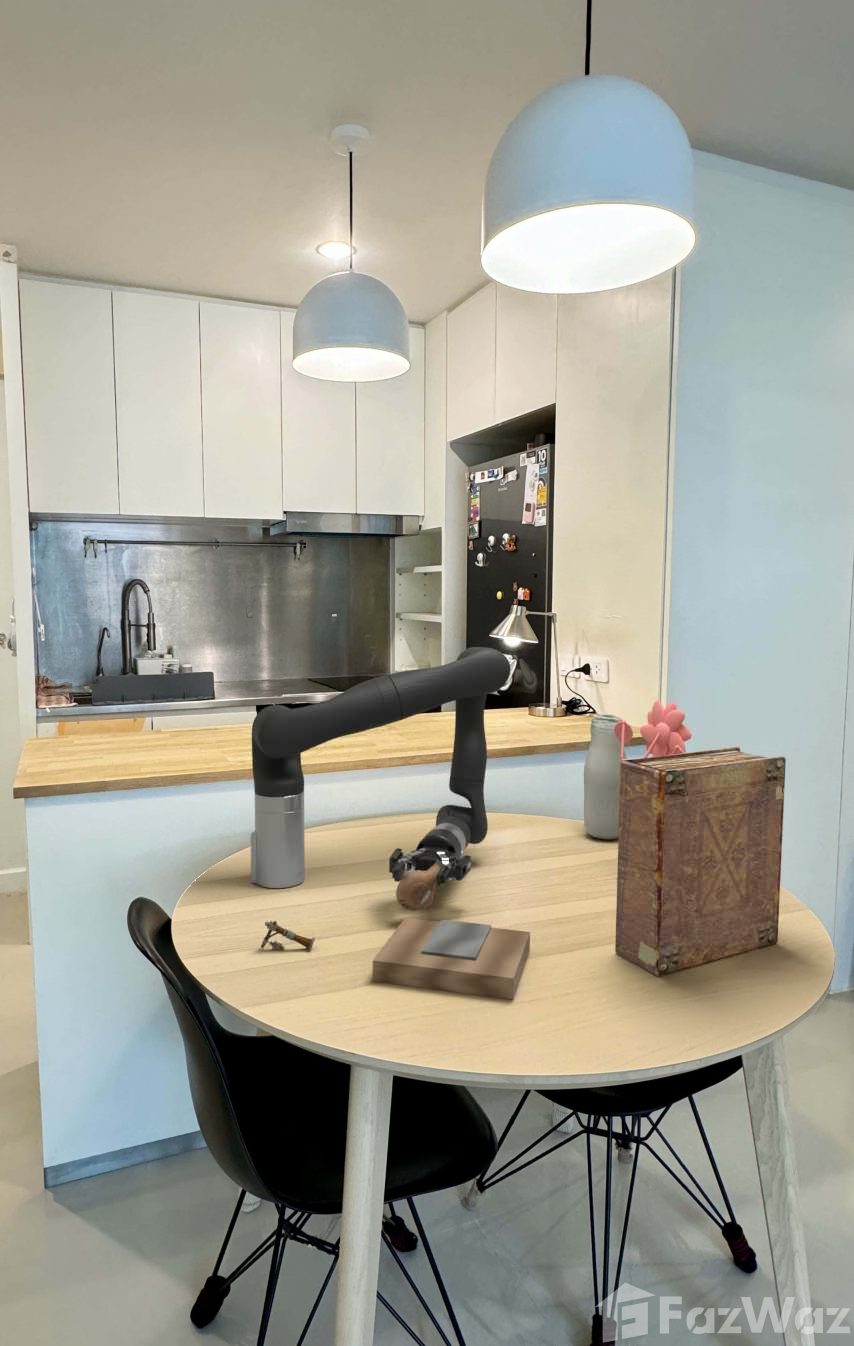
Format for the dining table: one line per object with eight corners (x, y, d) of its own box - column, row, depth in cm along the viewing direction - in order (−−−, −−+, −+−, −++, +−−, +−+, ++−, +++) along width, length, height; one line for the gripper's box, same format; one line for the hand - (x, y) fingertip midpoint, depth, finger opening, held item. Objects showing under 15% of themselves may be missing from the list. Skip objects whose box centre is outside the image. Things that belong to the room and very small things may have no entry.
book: (731, 923, 138) (739, 746, 135) (778, 944, 130) (787, 756, 127) (614, 953, 126) (620, 760, 123) (657, 978, 118) (665, 772, 115)
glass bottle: (623, 832, 191) (627, 712, 188) (629, 845, 181) (633, 718, 178) (580, 830, 192) (583, 711, 189) (584, 843, 182) (587, 717, 179)
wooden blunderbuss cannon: (256, 941, 128) (268, 915, 127) (304, 961, 128) (315, 936, 128) (254, 946, 126) (266, 920, 125) (302, 967, 126) (314, 941, 126)
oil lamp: (439, 900, 142) (441, 855, 141) (450, 909, 139) (452, 863, 138) (392, 908, 138) (393, 862, 137) (402, 917, 135) (403, 870, 134)
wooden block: (372, 980, 117) (372, 957, 116) (404, 935, 132) (404, 915, 132) (513, 999, 112) (513, 975, 111) (529, 950, 127) (530, 929, 127)
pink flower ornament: (677, 912, 142) (687, 711, 140) (587, 867, 166) (595, 694, 163) (743, 901, 149) (755, 708, 146) (648, 859, 172) (657, 693, 169)
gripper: (404, 824, 153) (376, 851, 137) (481, 831, 149) (460, 860, 133) (404, 864, 154) (375, 895, 138) (479, 872, 150) (459, 905, 134)
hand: (417, 878), depth 136 cm, fingers closed on oil lamp, 6 cm apart
